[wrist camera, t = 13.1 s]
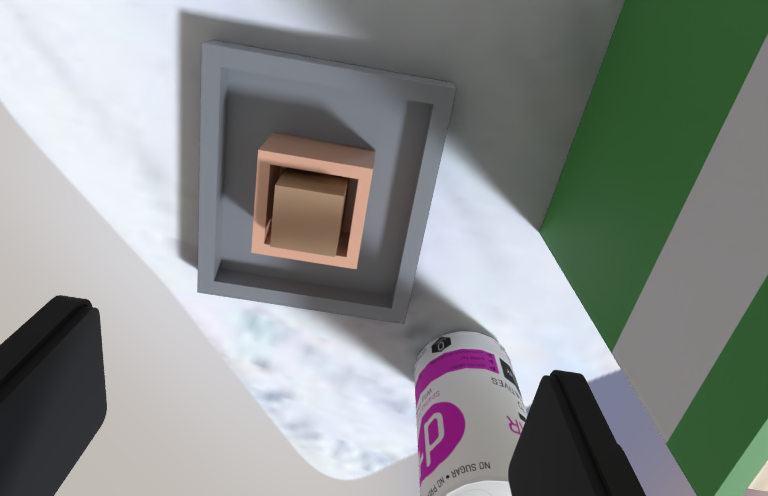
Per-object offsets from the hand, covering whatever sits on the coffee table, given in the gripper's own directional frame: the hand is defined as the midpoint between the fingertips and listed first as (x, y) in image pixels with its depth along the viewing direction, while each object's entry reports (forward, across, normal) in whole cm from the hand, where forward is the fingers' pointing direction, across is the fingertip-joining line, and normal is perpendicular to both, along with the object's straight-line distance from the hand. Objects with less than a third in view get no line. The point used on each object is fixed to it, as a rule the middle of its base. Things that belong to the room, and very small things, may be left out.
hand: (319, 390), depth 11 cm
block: (+27, +3, +6) cm, 28 cm away
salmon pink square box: (+28, +3, +6) cm, 28 cm away
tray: (+28, +3, +6) cm, 29 cm away
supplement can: (+28, -11, +20) cm, 37 cm away
